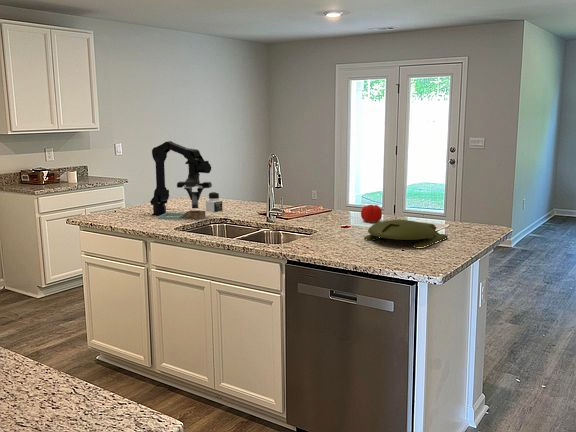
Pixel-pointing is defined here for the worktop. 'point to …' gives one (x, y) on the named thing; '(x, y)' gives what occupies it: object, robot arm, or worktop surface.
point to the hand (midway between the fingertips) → (194, 200)
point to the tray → (165, 215)
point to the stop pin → (194, 199)
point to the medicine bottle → (214, 203)
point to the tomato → (371, 213)
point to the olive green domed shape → (405, 231)
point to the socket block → (194, 214)
